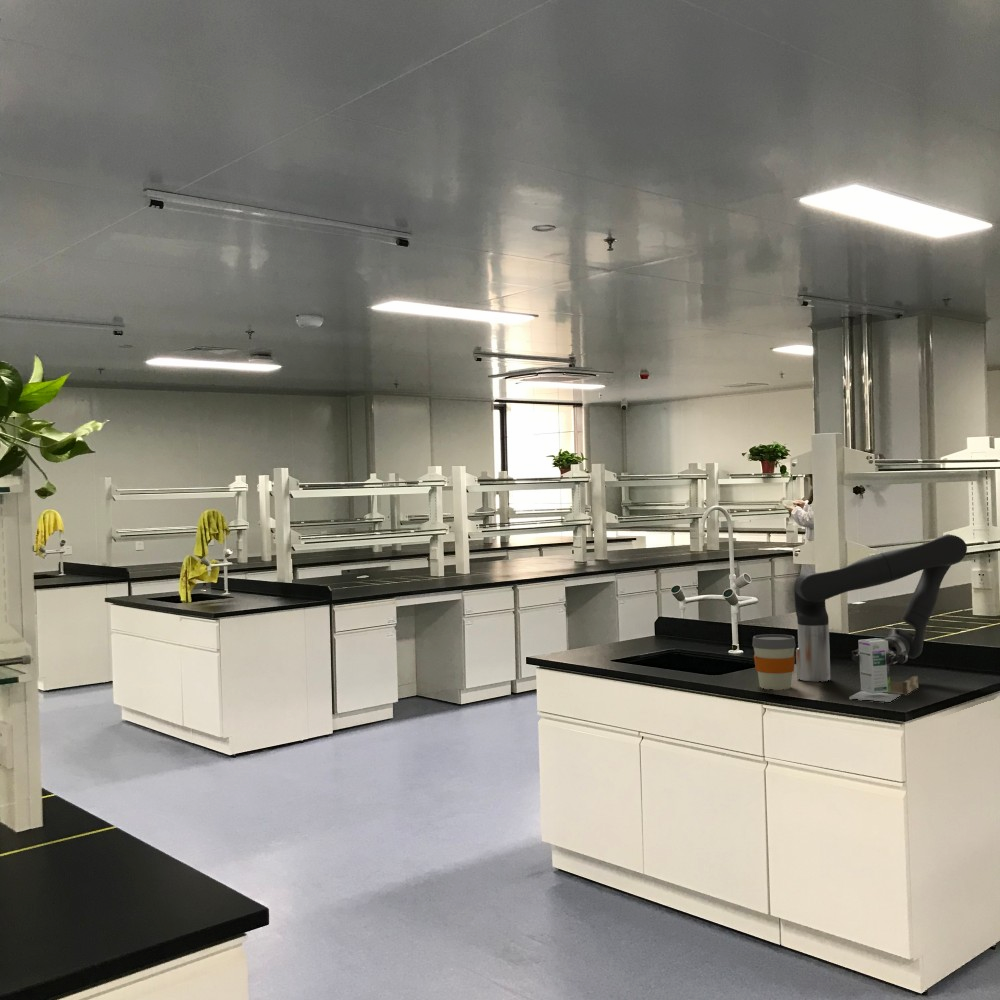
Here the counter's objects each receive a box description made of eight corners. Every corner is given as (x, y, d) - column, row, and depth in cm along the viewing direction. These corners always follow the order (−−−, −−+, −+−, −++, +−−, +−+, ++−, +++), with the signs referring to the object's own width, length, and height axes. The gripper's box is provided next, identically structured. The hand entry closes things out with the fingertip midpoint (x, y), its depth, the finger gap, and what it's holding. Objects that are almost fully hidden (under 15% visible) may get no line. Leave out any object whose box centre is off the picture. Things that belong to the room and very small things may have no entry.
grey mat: (849, 699, 277) (849, 697, 277) (860, 693, 285) (860, 691, 285) (890, 703, 270) (889, 700, 270) (900, 696, 278) (900, 694, 278)
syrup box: (873, 694, 274) (871, 641, 274) (860, 690, 280) (857, 638, 280) (891, 692, 276) (888, 639, 276) (877, 688, 281) (875, 637, 281)
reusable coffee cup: (761, 691, 291) (760, 640, 291) (748, 684, 304) (746, 635, 304) (803, 689, 292) (802, 638, 292) (788, 682, 305) (786, 633, 305)
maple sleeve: (879, 684, 296) (879, 673, 296) (918, 688, 290) (917, 676, 290) (866, 692, 286) (866, 679, 286) (906, 695, 280) (906, 683, 280)
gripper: (863, 637, 293) (845, 645, 280) (914, 639, 285) (898, 648, 272) (864, 662, 293) (846, 671, 280) (915, 665, 285) (899, 675, 272)
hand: (872, 660), depth 276 cm, fingers closed on syrup box, 8 cm apart
